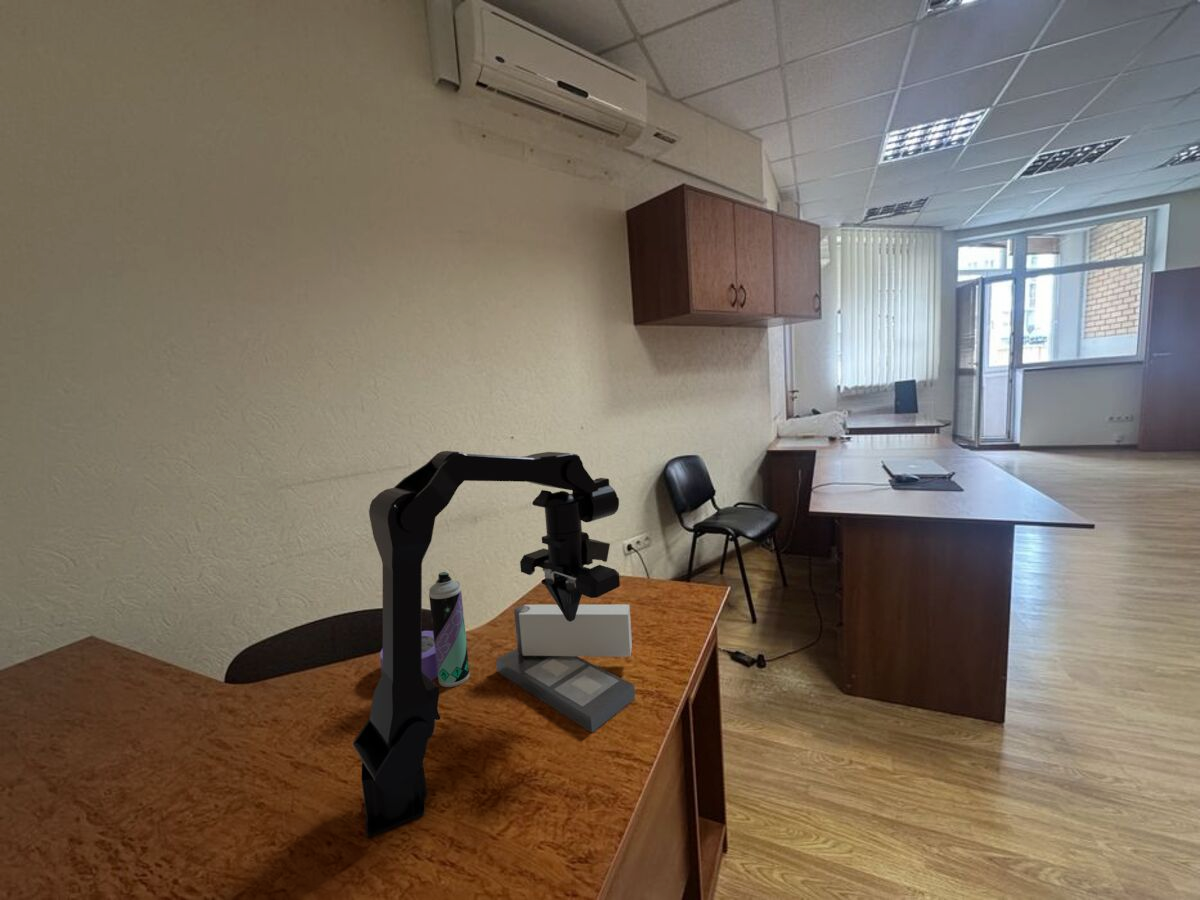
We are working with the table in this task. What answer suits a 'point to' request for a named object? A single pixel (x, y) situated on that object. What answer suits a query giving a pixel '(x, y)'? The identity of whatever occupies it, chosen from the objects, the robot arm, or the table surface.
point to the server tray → (569, 686)
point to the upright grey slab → (574, 631)
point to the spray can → (449, 631)
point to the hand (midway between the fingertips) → (570, 620)
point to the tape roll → (425, 655)
